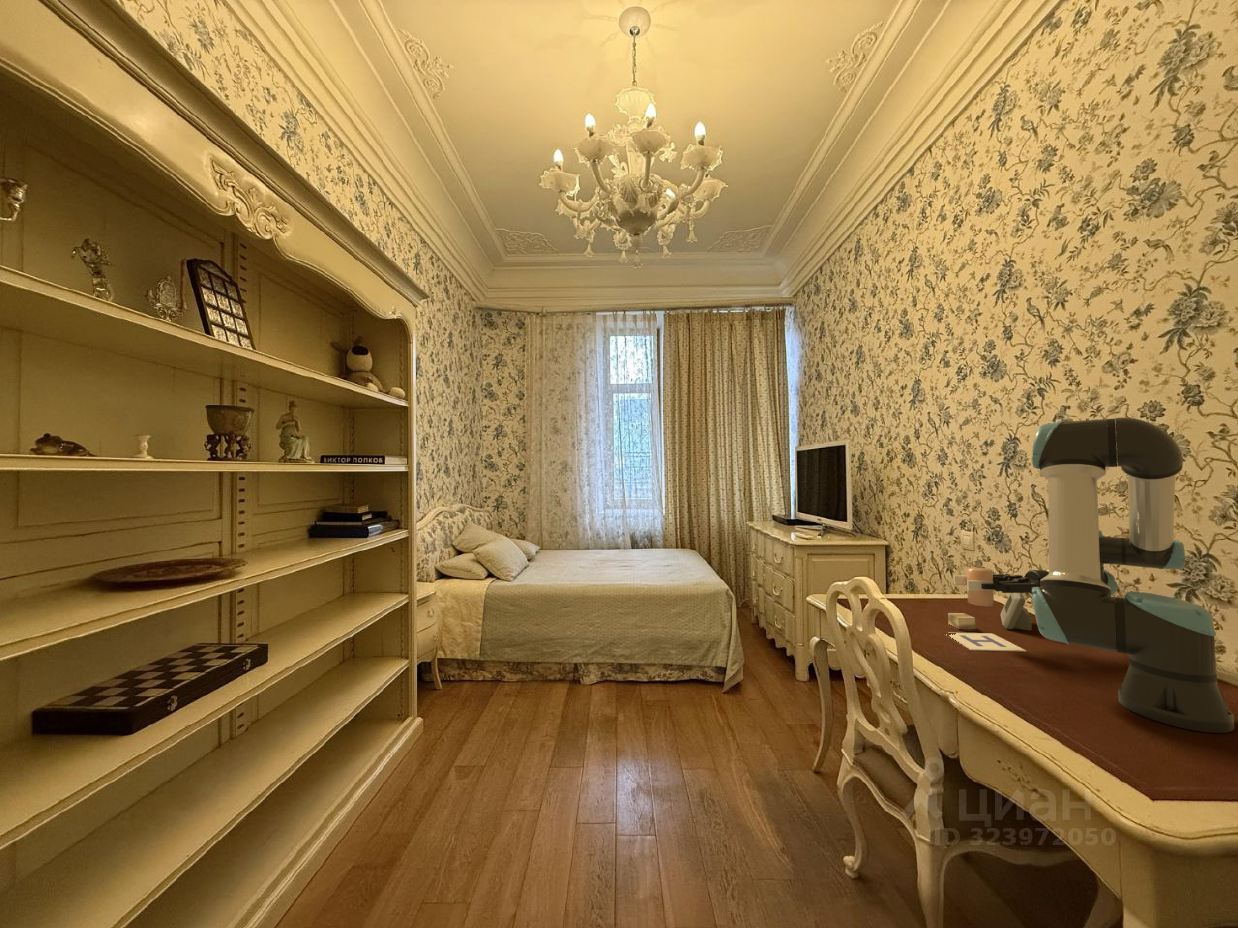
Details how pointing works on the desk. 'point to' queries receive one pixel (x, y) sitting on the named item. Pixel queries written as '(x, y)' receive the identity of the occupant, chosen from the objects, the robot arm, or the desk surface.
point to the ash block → (961, 620)
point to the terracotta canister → (980, 596)
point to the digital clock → (1015, 613)
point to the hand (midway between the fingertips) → (961, 582)
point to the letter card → (985, 642)
